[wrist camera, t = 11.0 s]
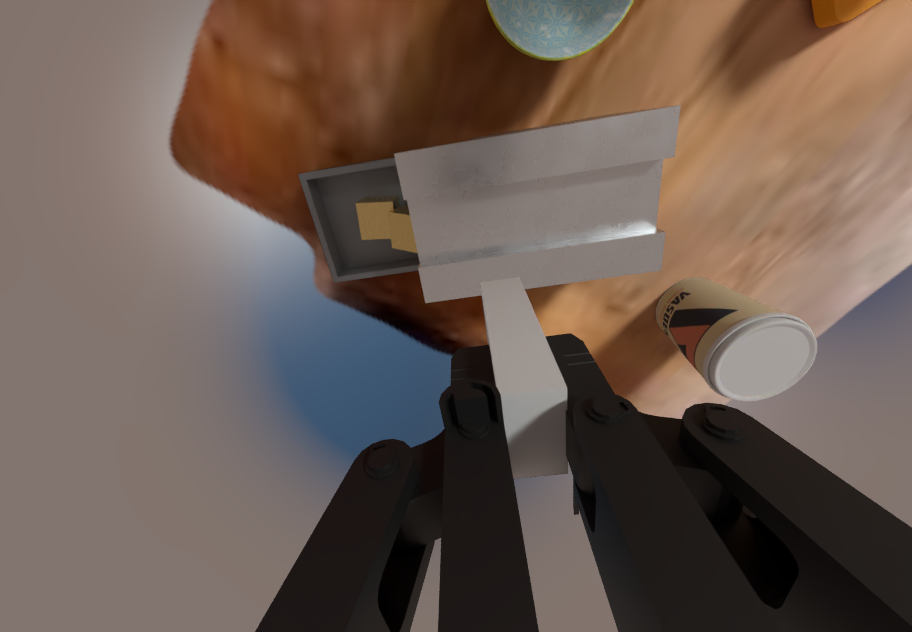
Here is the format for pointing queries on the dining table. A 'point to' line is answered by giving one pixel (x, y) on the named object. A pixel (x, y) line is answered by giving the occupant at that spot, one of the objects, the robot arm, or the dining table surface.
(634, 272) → the rail block
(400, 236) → the tan cube
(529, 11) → the bowl
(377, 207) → the chip
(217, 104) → the dining table surface
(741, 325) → the coffee cup
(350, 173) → the tray
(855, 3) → the bracket
